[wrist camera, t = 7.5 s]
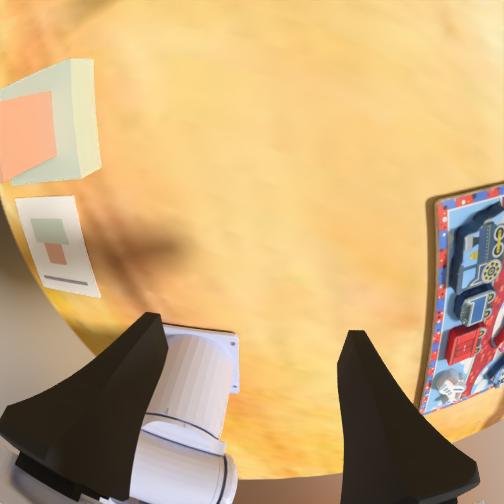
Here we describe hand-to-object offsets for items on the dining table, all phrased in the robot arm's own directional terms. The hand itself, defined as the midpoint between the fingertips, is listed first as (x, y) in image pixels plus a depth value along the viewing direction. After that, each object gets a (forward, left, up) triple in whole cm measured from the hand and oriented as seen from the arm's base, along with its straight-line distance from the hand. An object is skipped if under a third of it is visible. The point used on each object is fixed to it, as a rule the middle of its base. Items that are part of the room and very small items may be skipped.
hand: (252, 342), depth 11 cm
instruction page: (-3, +19, -10) cm, 22 cm away
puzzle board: (-7, -27, -11) cm, 30 cm away
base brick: (+8, +16, -10) cm, 21 cm away
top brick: (+8, +16, -7) cm, 19 cm away
